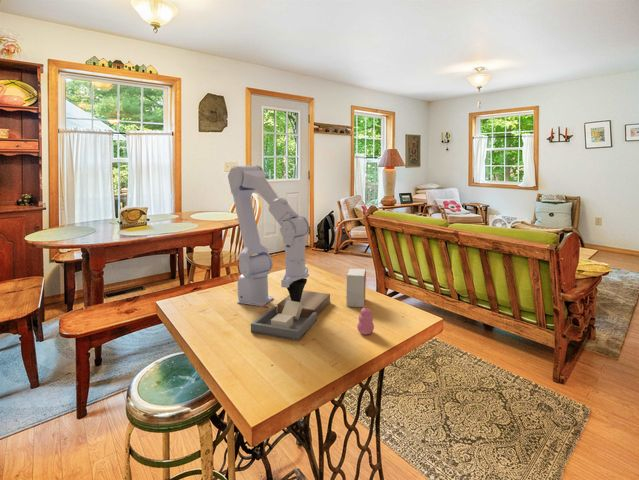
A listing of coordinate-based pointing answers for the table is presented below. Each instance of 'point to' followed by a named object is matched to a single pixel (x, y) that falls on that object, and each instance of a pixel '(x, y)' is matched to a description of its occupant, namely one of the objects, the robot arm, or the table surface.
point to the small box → (356, 287)
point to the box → (293, 333)
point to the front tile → (282, 321)
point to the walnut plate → (308, 303)
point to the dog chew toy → (365, 322)
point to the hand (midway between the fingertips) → (296, 303)
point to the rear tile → (293, 309)
